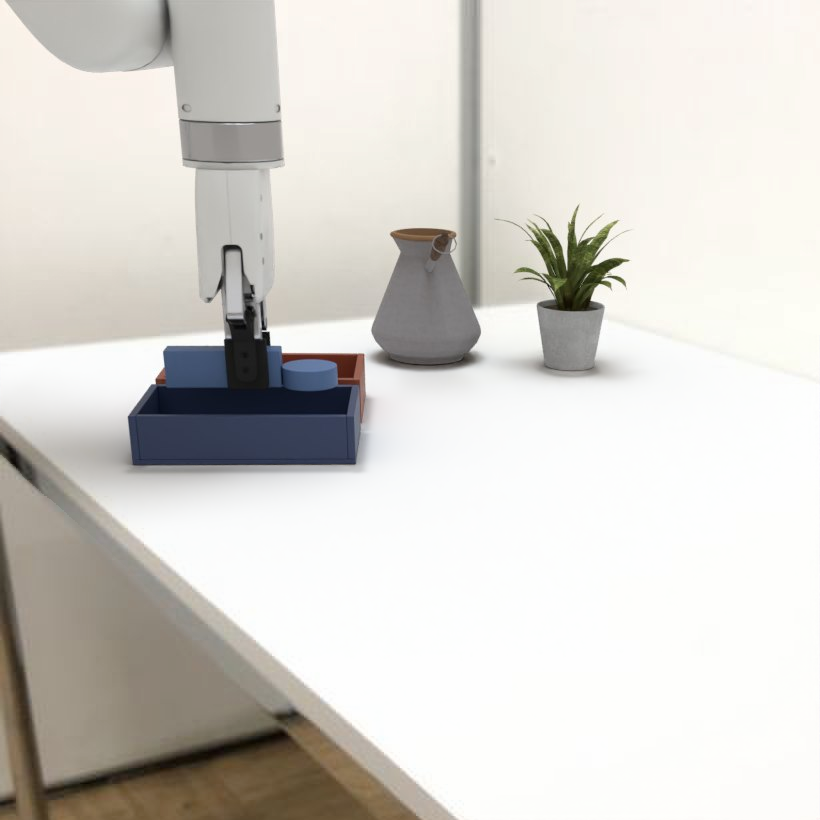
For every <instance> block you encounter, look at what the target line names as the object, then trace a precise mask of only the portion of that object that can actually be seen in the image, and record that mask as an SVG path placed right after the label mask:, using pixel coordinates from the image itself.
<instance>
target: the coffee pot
mask: <svg viewBox="0 0 820 820" xmlns="http://www.w3.org/2000/svg"><path fill="white" fill-rule="evenodd" d="M389 236H390V237H391V238H392V239H393V241H394V243H395V245H396V247H397V248H398V250H399V252H400V253H399V255H398V258H397V260H396V263H395V266H394V268H393V271H392V273H391V276H390V279H389V281H388V283H387V286H386V289H385V292H384V294H383V297H382V299H381V302H380V304H379V307H378V310H377V312H376V314H375V317H374V319H373V323H372V325H371V328H370V329H371V330H370V332H371V335H372V338H373V339H374V342H375V343H377V345H378V346H379V347H380V348H381V349H382V350H383V351H385V352H386V353H388V354H389V357H390V358H391V360H393V361H396V362H400V363H405V364H411V365H444V364H450V363H455V362H458V361H461V360H463V359H464V355H465V354H466V353H468V352H469V351H471V350H472V349H473V348H474V347H475V346H476V345H477V344H478V342H479V340H480V337H481V336H482V335H481V334H482V328H481V324H480V323H479V320H478V318H477V315H476V313H475V311H474V310H475V309H474V308H473V306H472V303H471V300H470V298H469V295H468V294H467V292H466V289H465V287H464V283H463V281H462V279H461V276H460V274H459V272H458V269H457V267H456V264H455V261H454V260H453V257H452V255H451V254H452V253H453V252H454V251H455V250H456V249H457V245H458V242H457V239H456V238H457V232H456V231H454V230H450V229H443V228H433V227H410V228H400V229H396V230H393V231H390V233H389ZM453 241H454V243H455V245H454V248H453V249H452V245H453ZM451 249H452V250H451Z"/></svg>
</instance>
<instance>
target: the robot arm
mask: <svg viewBox="0 0 820 820" xmlns="http://www.w3.org/2000/svg"><path fill="white" fill-rule="evenodd" d="M4 1H5V3H6V4H7V5H8V6H9V9H11V11H12V12H13V13H14V14H15V15H16V17H17V18H18V19H19V20H20V22H21V23H22V24H23V26H25V28H26V29H27V30H28V31H29V33H30V34H31V35H32V36H33V38H35V39H36V40H37V42H38V43H40V44H41V46H43V48H45V49H46V50H47V51H48V52H49V53H50V54H52V55H53V56H54V57H55V58H57V59H58V60H59V61H60V62H62V63H64V64H66V65H68V66H70V67H72V68H73V69H76V70H79V71H83V72H86V73H93V74H94V73H96V74H98V73H99V74H103V73H115V72H138V71H147V70H154V69H163V68H170V67H173V72H174V74H173V75H174V85H175V93H176V95H175V97H176V104H177V105H176V106H177V118H178V126H179V139H180V140H179V141H180V149H181V150H180V151H181V161H182V166H183V167H185V168H189V169H195V170H194V174H195V176H194V213H195V214H194V215H195V234H196V235H195V236H196V237H195V238H196V250H197V251H196V254H197V256H196V257H197V271H198V273H197V274H198V275H197V276H198V294H199V298H200V300H202V301H203V302H204V303H205V304H211V302H212V301H213V300H214V299H215V297H217V295H218V294H219V292H220V294H221V306H222V319H223V330H224V339H223V346H224V348H225V360H226V372H227V384H228V388H229V389H231V390H266V389H267V388H268V387H269V372H268V358H267V346H272V345H271V331H268V314H267V299H266V298H267V297H268V295H269V294H270V292H271V290H272V289H273V285H274V283H275V231H274V213H273V198H272V185H271V184H272V183H271V173H270V172H271V171H270V169H271V170H272V169H278V168H283V167H285V164H286V163H285V151H284V150H285V148H284V134H283V131H284V130H283V121H282V104H281V103H282V102H281V86H280V83H281V82H280V69H279V54H278V52H279V51H278V37H277V35H278V33H277V21H276V20H277V19H276V3H275V0H4Z"/></svg>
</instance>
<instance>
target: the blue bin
mask: <svg viewBox="0 0 820 820" xmlns="http://www.w3.org/2000/svg"><path fill="white" fill-rule="evenodd" d="M127 423H128V425H127V426H128V435H129V442H130V443H129V444H130V453H131V461H132V462H131V463H132V465H133V466H142V465H143V466H145V465H146V466H147V465H149V466H151V465H155V466H156V465H157V466H159V465H161V466H162V465H166V466H167V465H171V466H173V465H177V466H178V465H179V466H180V465H181V466H183V465H356V464H357V459H358V458H357V457H358V451H359V444H360V437H361V429H362V425H361V424H362V423H361V421H360V393H359V385H337V386H336V387H334V388H331V389H327V390H321V391H296V390H290V389H287V388H285V387H284V386H283V385H282V387H281V388H267V389H266V390H231V389H229V388H167V387H166V384H159V385H158V384H156V383H151V384H150V386H149V387H148V388H147V389H146V391H145V392H144V394H143V395H142V397H140V399H139V400H138V402H137V403H136V404H135V406H134V407H133V409H132V410H131V411H130V413H129V414H128V415H127Z"/></svg>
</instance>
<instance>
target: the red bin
mask: <svg viewBox="0 0 820 820" xmlns="http://www.w3.org/2000/svg"><path fill="white" fill-rule="evenodd" d="M305 359H317V360H327V361H331V362H334V363H336V364H337V375H338V385H359V393H360V421H361V424H362V422H363V415H364V409H365V402H366V395H367V394H366V393H367V392H366V363H365V353H362V352H361V353H358V352H355V353H354V352H353V353H352V352H351V353H349V352H347V353H345V352H344V353H343V352H282V361H283V364H284V363H287V362H290V361H295V360H305ZM154 381H155V384H158V385H159V384H166V378H165V368H164V367H163V368H162V369H161V371H160V372H159V373H158V374H157V376H156V377H155V380H154Z"/></svg>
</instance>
